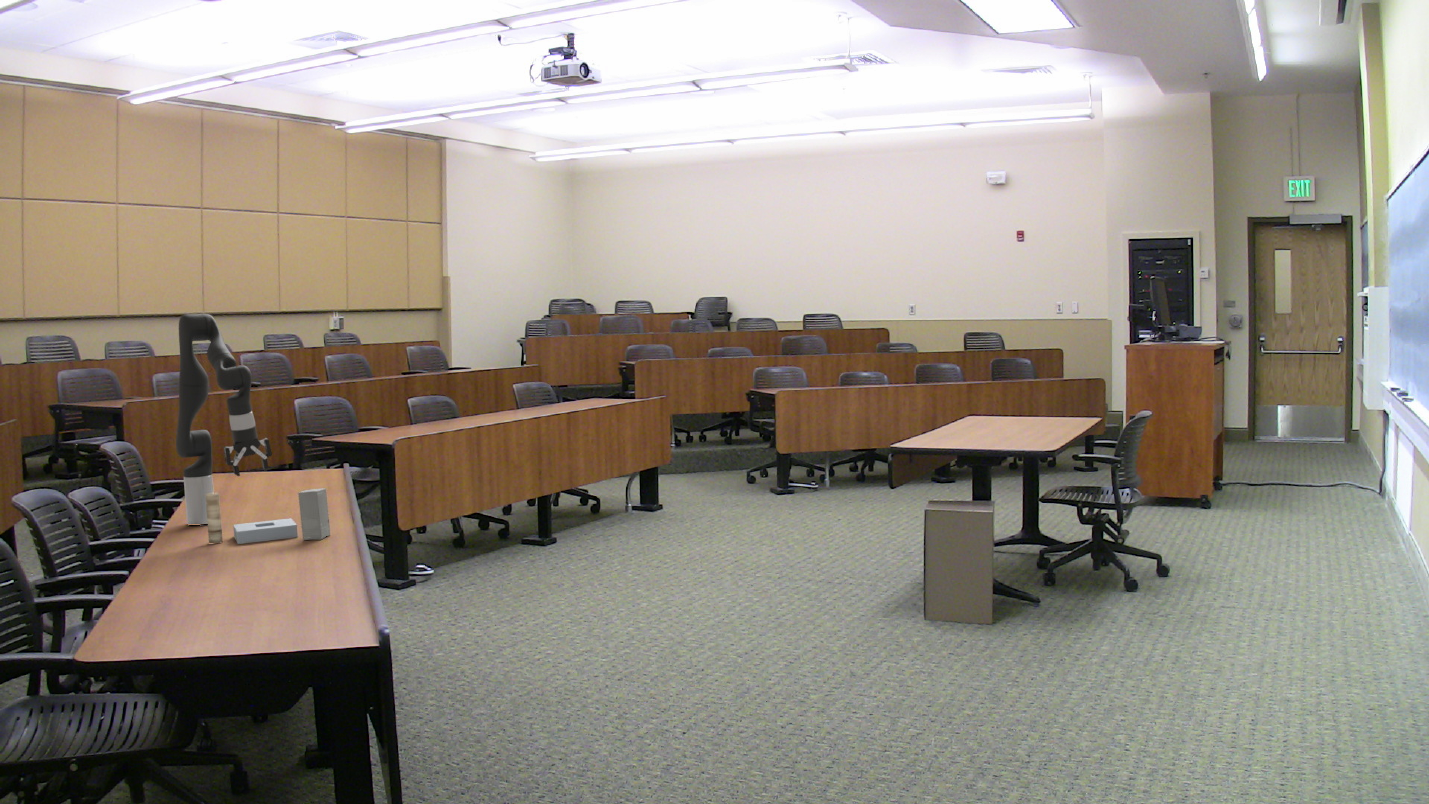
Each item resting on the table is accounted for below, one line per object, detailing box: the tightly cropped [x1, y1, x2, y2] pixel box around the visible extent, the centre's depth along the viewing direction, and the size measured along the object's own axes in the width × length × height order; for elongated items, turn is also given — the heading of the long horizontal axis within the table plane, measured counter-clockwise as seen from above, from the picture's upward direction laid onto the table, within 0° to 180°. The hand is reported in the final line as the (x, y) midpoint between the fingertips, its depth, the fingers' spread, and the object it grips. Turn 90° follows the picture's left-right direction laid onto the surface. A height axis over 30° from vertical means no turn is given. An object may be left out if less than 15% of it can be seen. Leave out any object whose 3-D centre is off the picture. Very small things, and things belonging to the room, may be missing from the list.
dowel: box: [205, 492, 223, 544], centre depth 347 cm, size 4×4×16 cm
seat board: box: [232, 517, 299, 545], centre depth 355 cm, size 14×18×4 cm
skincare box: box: [297, 487, 331, 541], centre depth 350 cm, size 8×7×16 cm
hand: (251, 472), depth 360 cm, fingers open, 8 cm apart
